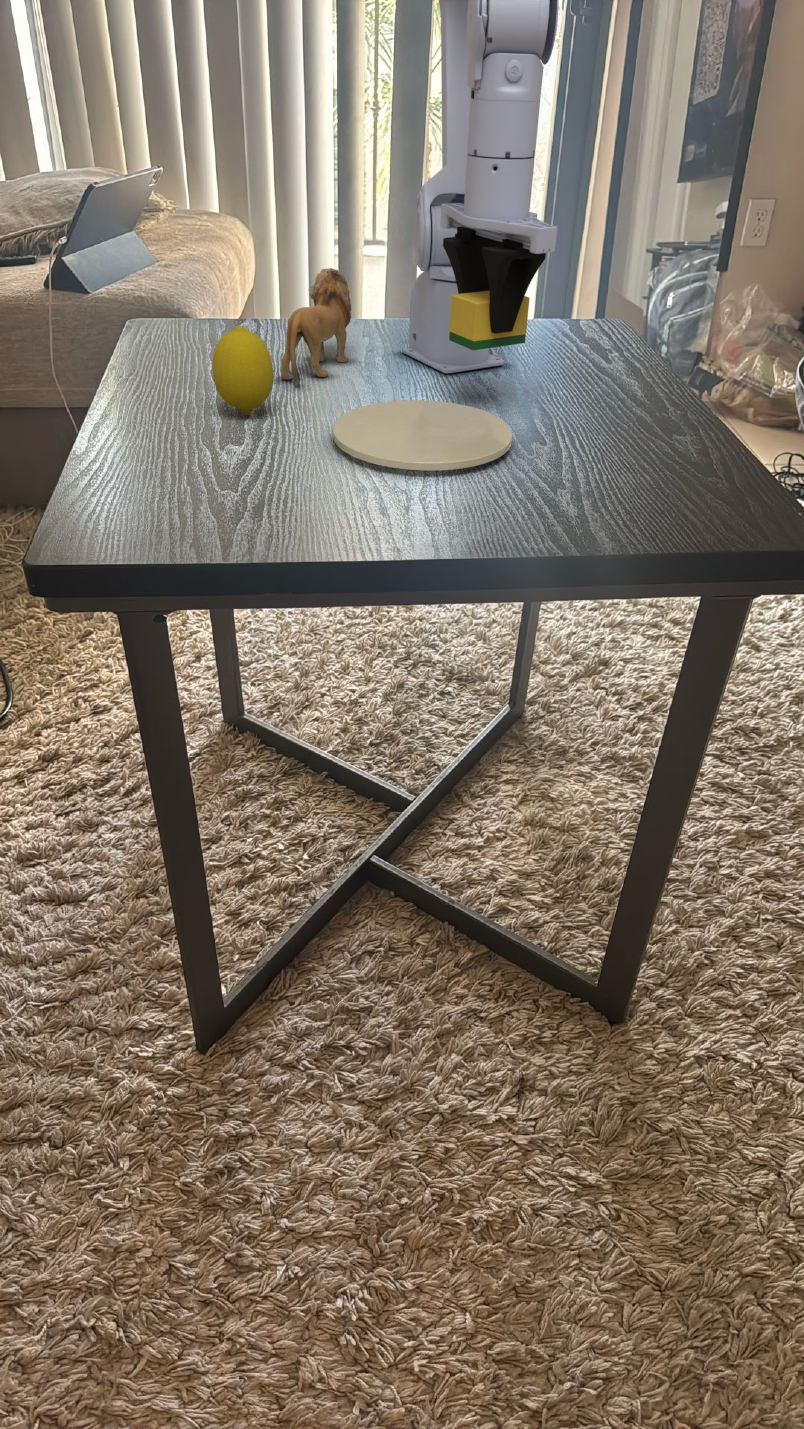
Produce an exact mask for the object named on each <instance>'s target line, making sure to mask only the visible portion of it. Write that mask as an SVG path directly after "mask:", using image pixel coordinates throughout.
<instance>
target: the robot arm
mask: <svg viewBox="0 0 804 1429" xmlns="http://www.w3.org/2000/svg"><path fill="white" fill-rule="evenodd" d="M438 4H439V13H440V42H441V43H440V56H441V57H440V59H441V60H440V62H441V65H440V66H441V68H440V69H441V70H440V71H441V74H440V75H441V77H440V78H441V169H440V170H439V171H438V172H436V173H435V174H434V175H433V176H432V177H430V178H429V179H428V180H427V181H426V182H425V183H423V185H422V186H421V187H420V190H419V192H418V194H417V198H416V203H415V207H416V208H415V220H414V237H413V239H414V241H413V244H414V246H413V247H414V259H415V260H414V261H415V264H416V266H417V267H418V268H419V270H420V272H421V273H420V274H418V276H417V277H416V279H415V281H414V283H413V285H412V287H411V291H410V297H409V329H408V346H407V347H402V350H401V352H402V353H403V354H405V355H406V356H409V357H410V358H413V359H415V360H417V361H418V362H421V363H423V364H424V365H427V366H429V367H430V368H433V369H435V370H437V371H440V372H441V373H443V374H455V373H460V372H466V371H473V370H479V369H487V368H492V367H498V366H503V365H505V360H504V359H502V358H500V357H498V356H495V355H493V354H491V353H490V348H487V349H480V350H471V349H469V348H466V347H464V346H462V345H459V344H457V343H455V342H452V341H450V340H449V332H450V331H449V330H450V311H451V295H454V294H463V293H472V292H481V291H489V292H490V305H489V316H490V327H491V332H492V333H495V334H498V333H505V332H512V331H513V328H514V325H515V322H516V319H517V316H518V313H519V310H520V307H521V304H522V301H523V299H524V296H526V293H527V291H528V288H529V286H530V284H531V283H532V281H533V279H534V278H535V275H536V274H537V272H538V270H539V269H540V267H541V266H542V264H543V263H544V261H546V257H547V254H553V253H555V252H556V245H557V238H558V237H557V236H558V229H559V228H558V226H557V225H551V224H549V223H547V222H545V221H543V220H541V219H539V218H538V213H536V212H532V211H531V201H532V200H531V199H532V192H533V180H534V171H535V170H534V168H535V159H536V158H535V156H536V148H537V138H538V127H539V118H540V107H541V97H542V86H543V77H544V76H543V75H544V66H545V65H547V64H548V63H549V61H550V59H551V56H552V54H553V50H554V47H555V46H554V45H555V41H556V36H557V29H558V21H559V9H560V8H559V7H560V0H438Z"/></svg>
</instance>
